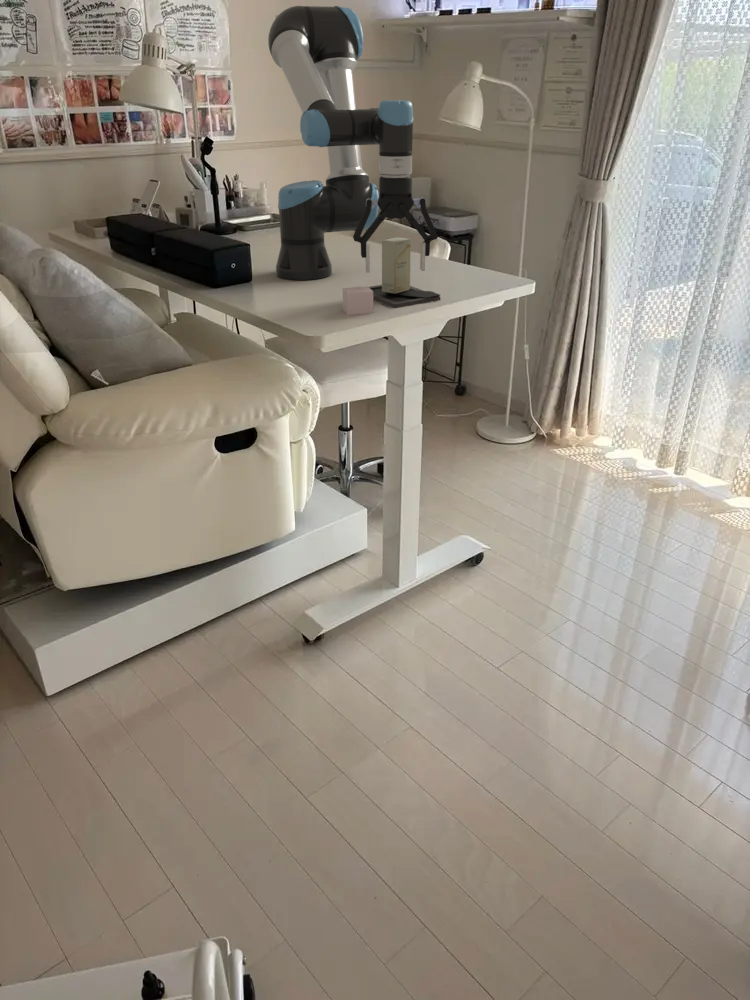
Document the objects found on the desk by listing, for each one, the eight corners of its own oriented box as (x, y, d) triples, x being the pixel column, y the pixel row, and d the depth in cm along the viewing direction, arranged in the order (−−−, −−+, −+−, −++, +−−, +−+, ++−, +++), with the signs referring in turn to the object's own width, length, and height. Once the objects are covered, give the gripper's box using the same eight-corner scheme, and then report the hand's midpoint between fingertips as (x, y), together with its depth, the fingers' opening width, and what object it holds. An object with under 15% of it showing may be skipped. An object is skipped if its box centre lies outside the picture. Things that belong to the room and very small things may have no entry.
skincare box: (395, 294, 189) (396, 242, 184) (380, 291, 192) (380, 240, 186) (410, 289, 194) (411, 238, 188) (396, 287, 196) (396, 236, 190)
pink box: (347, 315, 179) (347, 293, 176) (342, 309, 183) (342, 288, 180) (373, 313, 180) (373, 291, 178) (367, 308, 184) (367, 286, 182)
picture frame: (440, 302, 190) (399, 288, 204) (440, 294, 189) (399, 280, 203) (393, 310, 184) (354, 295, 197) (393, 302, 183) (354, 287, 196)
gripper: (342, 178, 176) (344, 275, 186) (451, 176, 178) (448, 272, 188) (340, 174, 183) (343, 268, 193) (446, 173, 185) (443, 266, 195)
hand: (395, 270), depth 191 cm, fingers open, 13 cm apart
